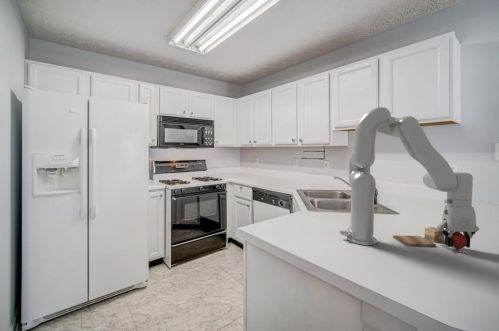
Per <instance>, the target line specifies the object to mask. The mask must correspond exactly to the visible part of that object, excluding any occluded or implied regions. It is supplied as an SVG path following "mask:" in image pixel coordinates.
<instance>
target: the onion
mask: <svg viewBox="0 0 499 331" xmlns="http://www.w3.org/2000/svg"><path fill="white" fill-rule="evenodd" d="M452 238H453V247H454V248H455V249H461V248H466V245H467V239H466V237H465V236H464V234H463V232H453V234H452Z"/></svg>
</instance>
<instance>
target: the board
mask: <svg viewBox="0 0 499 331" xmlns="http://www.w3.org/2000/svg"><path fill="white" fill-rule="evenodd" d="M392 238H393V239H394V240H395V241H397V242H399V243H400V244H402V245H404V247H418V248H419V247H420V248H421V247H424V248H425V247H427V248H429V247H430V248H436V247H437V244H436V243H432V242H430V241H429V240H427V239H425V237H423V236H421V235H398V234H397V235H393V234H392Z"/></svg>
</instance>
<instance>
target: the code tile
mask: <svg viewBox="0 0 499 331" xmlns="http://www.w3.org/2000/svg"><path fill="white" fill-rule="evenodd" d="M439 246H440V247H442V248H444V249H446V250H448V251H450V252H452V253H454V254H467V255H469V254H471V255H473V254H474V255H476V254H477V253H475V252H473V251H472V250H469V249H467V248H466V247H463V248H461V249H455V248H454V247H449V246H447V245H445V244H439Z"/></svg>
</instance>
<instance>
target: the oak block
mask: <svg viewBox="0 0 499 331" xmlns="http://www.w3.org/2000/svg"><path fill="white" fill-rule="evenodd" d="M424 238H425V239H427V240H430V241H432V242H445V235H443V233H442V232H441V231H440V230H439V229H438V228H437V227H432V226H431V227H424Z"/></svg>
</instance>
